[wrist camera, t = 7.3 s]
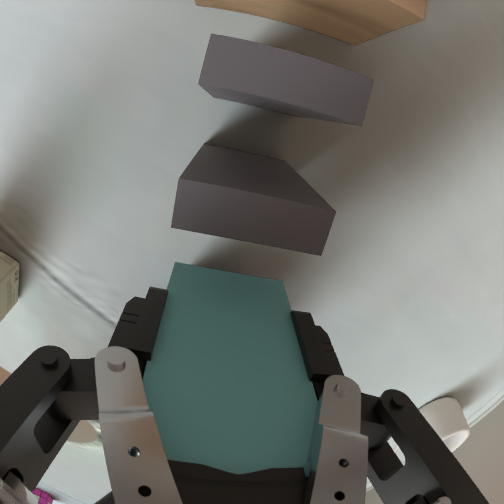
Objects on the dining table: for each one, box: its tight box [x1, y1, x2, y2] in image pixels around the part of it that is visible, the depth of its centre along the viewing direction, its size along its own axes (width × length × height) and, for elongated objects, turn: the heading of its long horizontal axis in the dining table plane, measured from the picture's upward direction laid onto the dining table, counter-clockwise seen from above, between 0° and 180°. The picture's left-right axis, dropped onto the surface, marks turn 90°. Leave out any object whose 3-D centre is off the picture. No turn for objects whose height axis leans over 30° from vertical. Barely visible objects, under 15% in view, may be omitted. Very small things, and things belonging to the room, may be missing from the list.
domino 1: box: [198, 34, 373, 126], centre depth 13 cm, size 2×5×10 cm, turn 77°
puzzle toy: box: [32, 488, 53, 504], centre depth 43 cm, size 6×6×6 cm
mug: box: [393, 397, 470, 465], centre depth 32 cm, size 12×10×6 cm
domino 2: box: [171, 144, 336, 256], centre depth 14 cm, size 2×5×10 cm, turn 77°
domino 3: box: [142, 262, 318, 477], centre depth 10 cm, size 2×5×10 cm, turn 76°
